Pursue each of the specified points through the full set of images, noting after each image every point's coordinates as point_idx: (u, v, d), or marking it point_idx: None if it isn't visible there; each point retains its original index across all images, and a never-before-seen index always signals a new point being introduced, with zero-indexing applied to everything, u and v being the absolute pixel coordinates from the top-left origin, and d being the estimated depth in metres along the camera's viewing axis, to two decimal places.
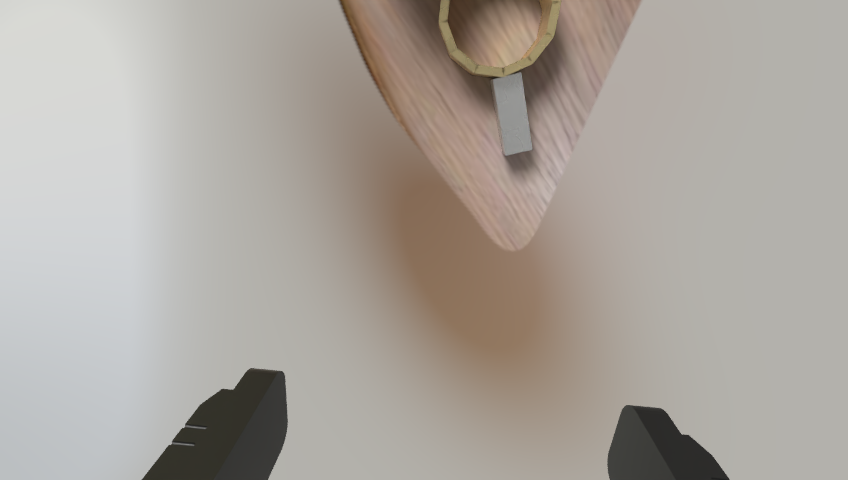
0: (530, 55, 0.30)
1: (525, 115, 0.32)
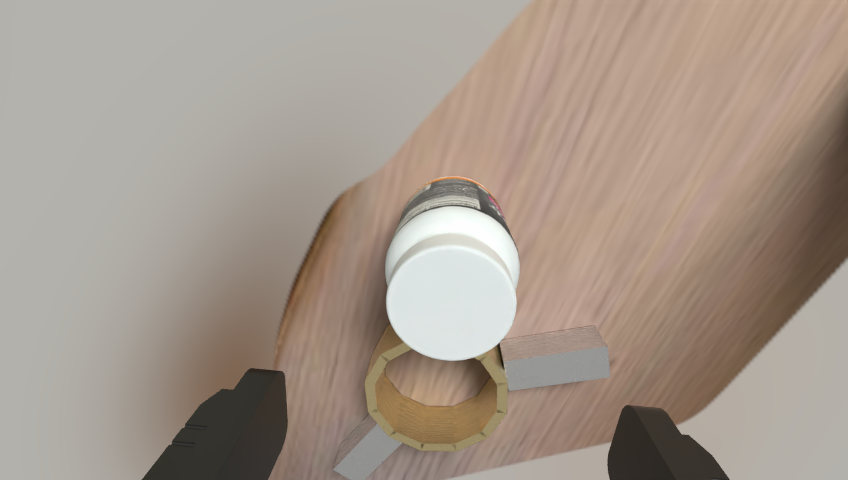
0: (425, 444, 0.25)
1: (379, 462, 0.28)
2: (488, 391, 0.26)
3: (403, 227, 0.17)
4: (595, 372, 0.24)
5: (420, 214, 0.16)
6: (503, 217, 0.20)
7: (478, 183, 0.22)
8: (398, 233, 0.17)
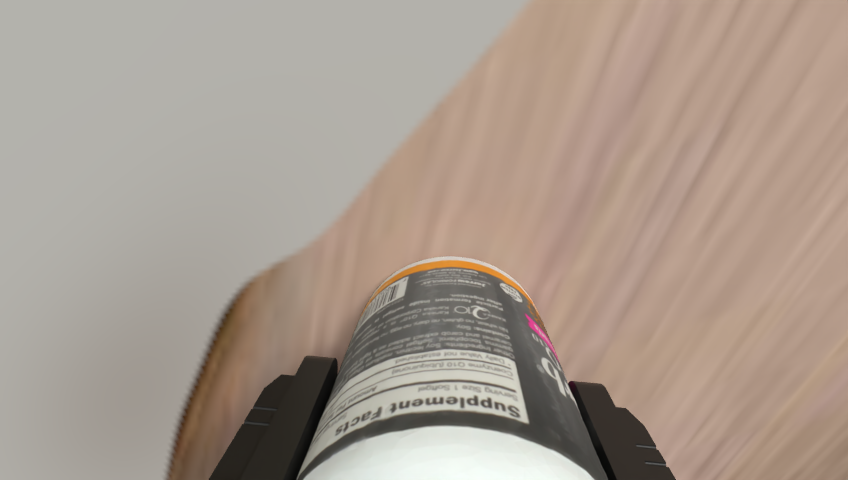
0: None
1: None
2: None
3: (317, 473, 0.06)
4: None
5: (362, 443, 0.06)
6: (561, 369, 0.09)
7: (500, 272, 0.11)
8: None
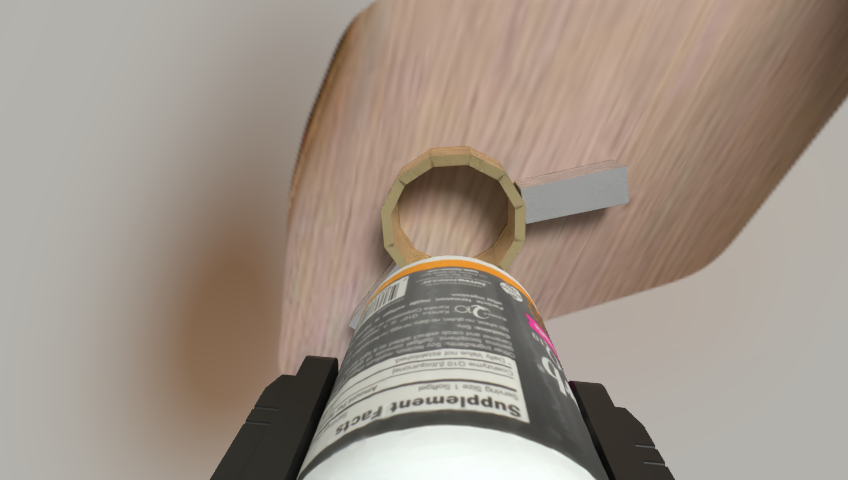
0: None
1: None
2: (504, 235, 0.26)
3: (317, 473, 0.06)
4: (613, 197, 0.24)
5: (362, 442, 0.06)
6: (561, 368, 0.09)
7: (500, 272, 0.11)
8: None
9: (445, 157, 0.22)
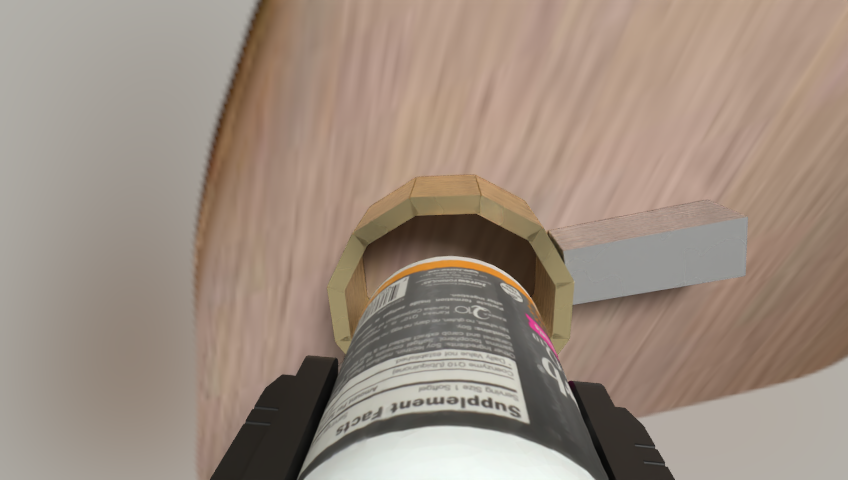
0: None
1: None
2: None
3: (317, 473, 0.06)
4: (720, 267, 0.14)
5: (363, 443, 0.06)
6: (561, 369, 0.09)
7: (500, 272, 0.11)
8: None
9: (436, 199, 0.13)
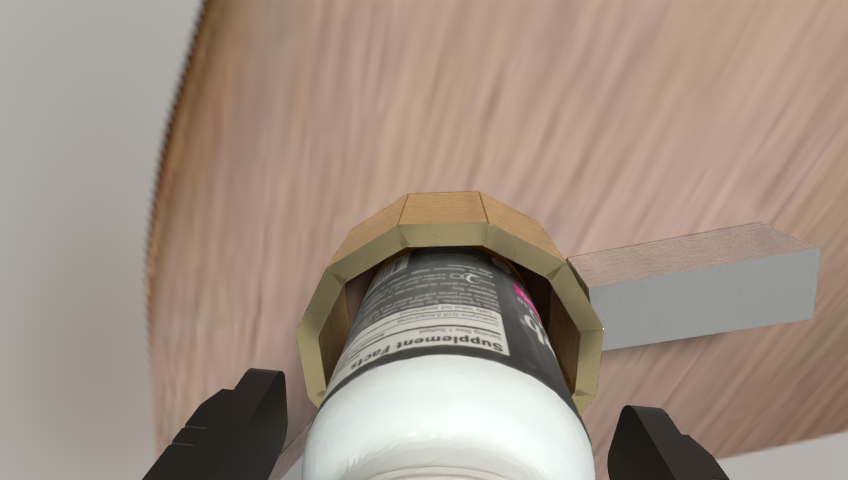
0: None
1: None
2: None
3: (337, 396, 0.07)
4: (782, 308, 0.11)
5: (374, 370, 0.07)
6: (543, 328, 0.10)
7: (491, 250, 0.13)
8: (326, 409, 0.07)
9: (431, 227, 0.10)
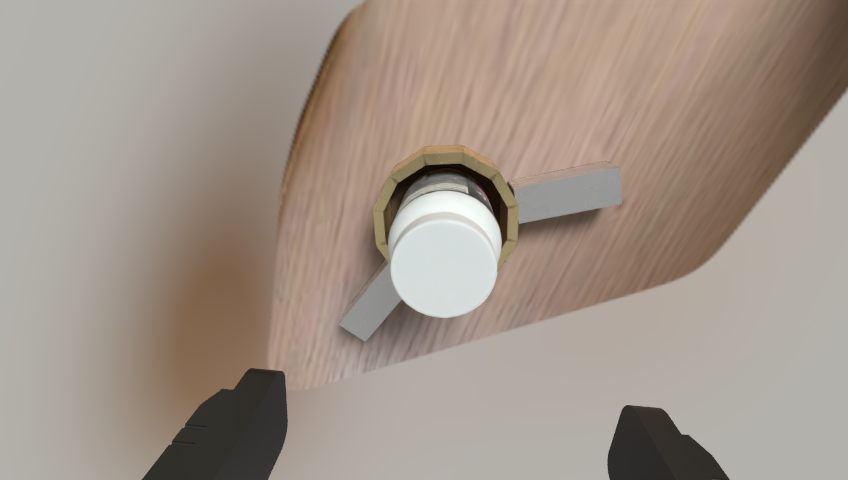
0: None
1: (386, 313, 0.27)
2: None
3: (403, 208, 0.20)
4: (606, 198, 0.24)
5: (418, 197, 0.19)
6: (489, 202, 0.23)
7: None
8: (399, 213, 0.20)
9: (438, 155, 0.22)
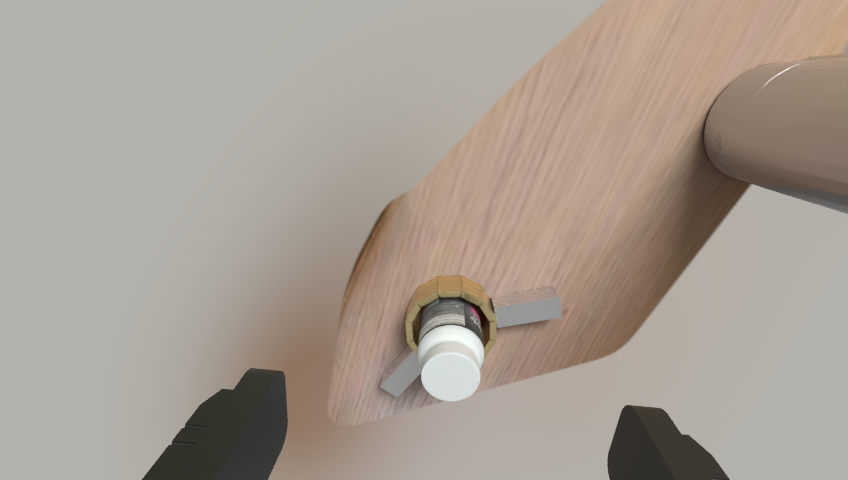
0: None
1: (411, 380, 0.41)
2: (484, 331, 0.40)
3: (427, 334, 0.34)
4: (552, 314, 0.38)
5: (435, 328, 0.34)
6: (478, 320, 0.37)
7: None
8: (424, 337, 0.34)
9: (446, 292, 0.36)
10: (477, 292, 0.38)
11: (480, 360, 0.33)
